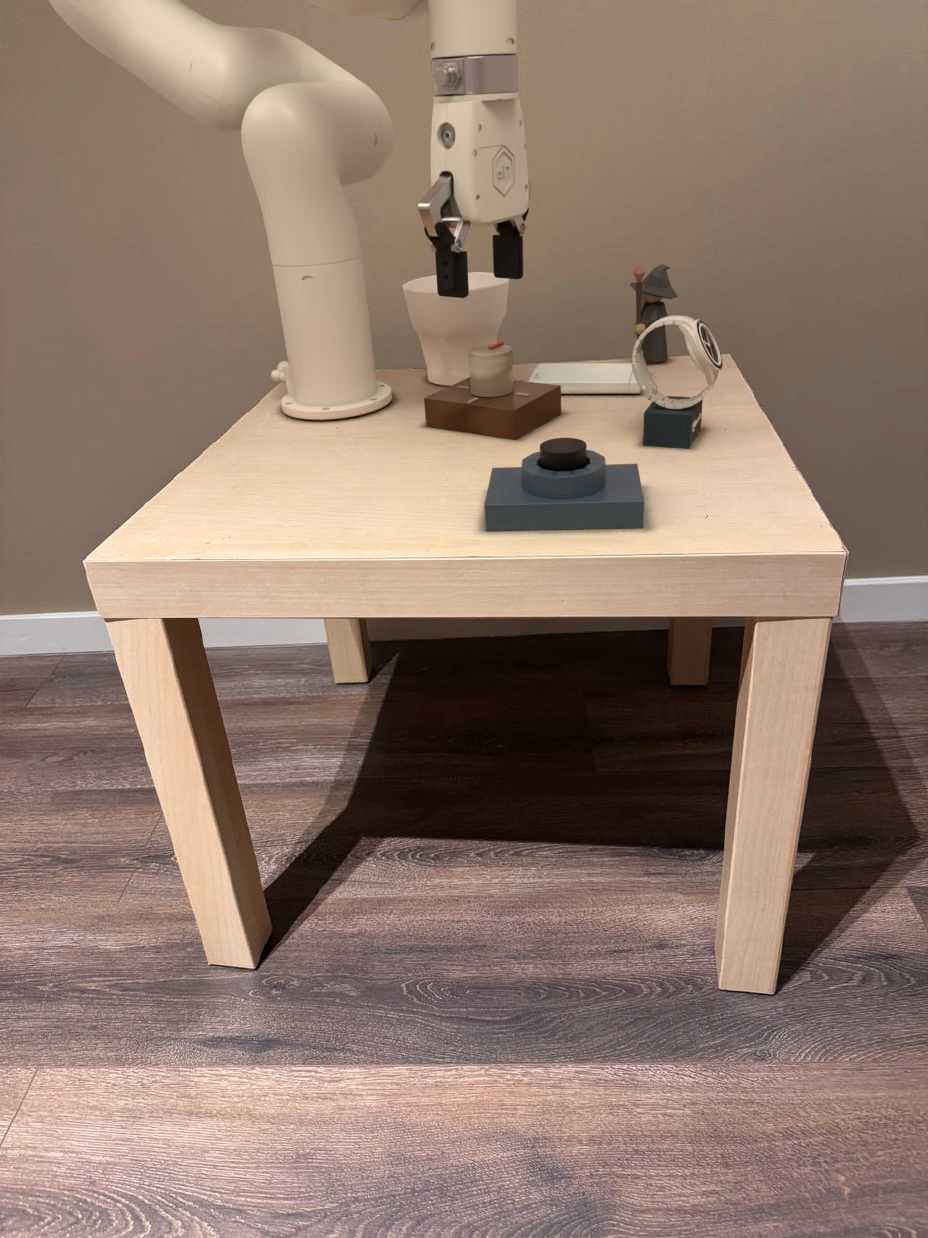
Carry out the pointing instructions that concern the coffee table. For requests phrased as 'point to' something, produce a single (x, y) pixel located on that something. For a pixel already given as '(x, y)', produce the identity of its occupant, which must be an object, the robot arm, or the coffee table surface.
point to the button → (563, 454)
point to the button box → (564, 496)
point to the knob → (491, 370)
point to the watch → (673, 415)
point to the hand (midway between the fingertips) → (481, 286)
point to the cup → (455, 322)
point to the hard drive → (588, 378)
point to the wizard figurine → (652, 310)
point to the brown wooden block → (493, 409)
